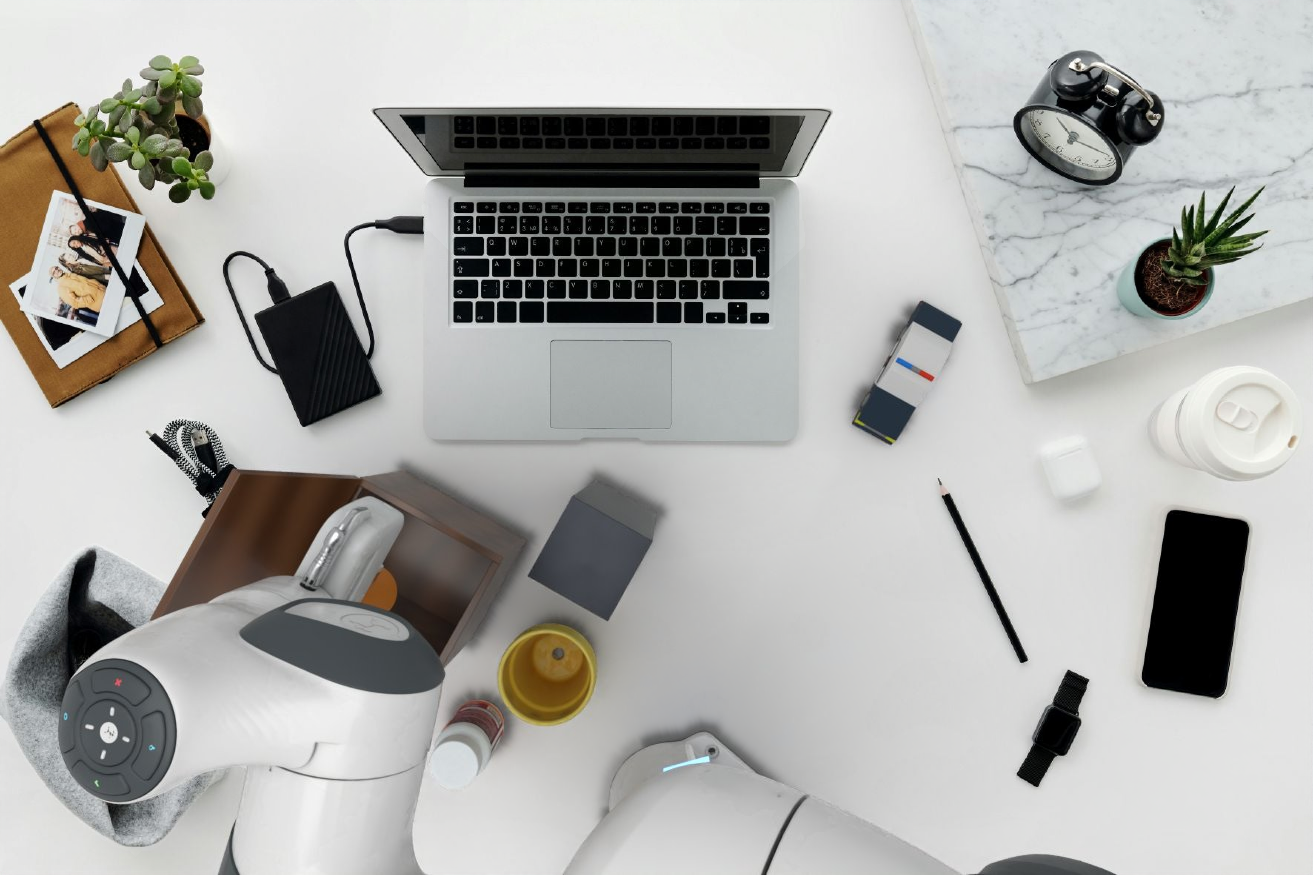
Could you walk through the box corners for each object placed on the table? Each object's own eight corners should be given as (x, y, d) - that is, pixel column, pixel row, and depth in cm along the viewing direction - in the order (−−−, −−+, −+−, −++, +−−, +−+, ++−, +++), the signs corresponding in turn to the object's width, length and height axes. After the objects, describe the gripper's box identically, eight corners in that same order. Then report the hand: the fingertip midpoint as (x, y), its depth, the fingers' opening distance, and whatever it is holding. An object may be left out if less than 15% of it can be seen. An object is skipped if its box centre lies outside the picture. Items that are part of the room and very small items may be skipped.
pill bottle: (453, 697, 92) (423, 735, 81) (505, 698, 92) (483, 736, 80) (453, 749, 92) (423, 794, 81) (505, 750, 92) (482, 795, 81)
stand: (656, 512, 91) (652, 541, 67) (623, 571, 91) (607, 621, 67) (597, 478, 91) (572, 495, 67) (563, 538, 92) (527, 576, 68)
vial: (407, 580, 71) (364, 604, 61) (380, 628, 71) (333, 660, 61) (359, 553, 71) (309, 573, 61) (332, 601, 71) (278, 629, 61)
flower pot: (528, 597, 92) (511, 617, 82) (612, 621, 92) (606, 644, 82) (504, 682, 92) (485, 712, 82) (589, 706, 92) (579, 739, 82)
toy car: (848, 424, 91) (859, 423, 86) (916, 303, 91) (930, 295, 86) (887, 445, 91) (899, 446, 86) (954, 324, 91) (971, 317, 86)
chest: (527, 539, 92) (503, 557, 78) (471, 639, 92) (437, 675, 78) (404, 470, 92) (359, 476, 78) (348, 570, 92) (294, 594, 79)
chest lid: (240, 473, 61) (232, 468, 61) (156, 625, 61) (149, 620, 61) (361, 479, 78) (354, 475, 78) (295, 597, 78) (289, 593, 78)
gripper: (307, 488, 53) (381, 477, 67) (162, 748, 54) (266, 683, 67) (387, 534, 53) (444, 513, 67) (242, 793, 53) (329, 719, 67)
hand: (354, 600), depth 67 cm, fingers closed on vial, 5 cm apart
